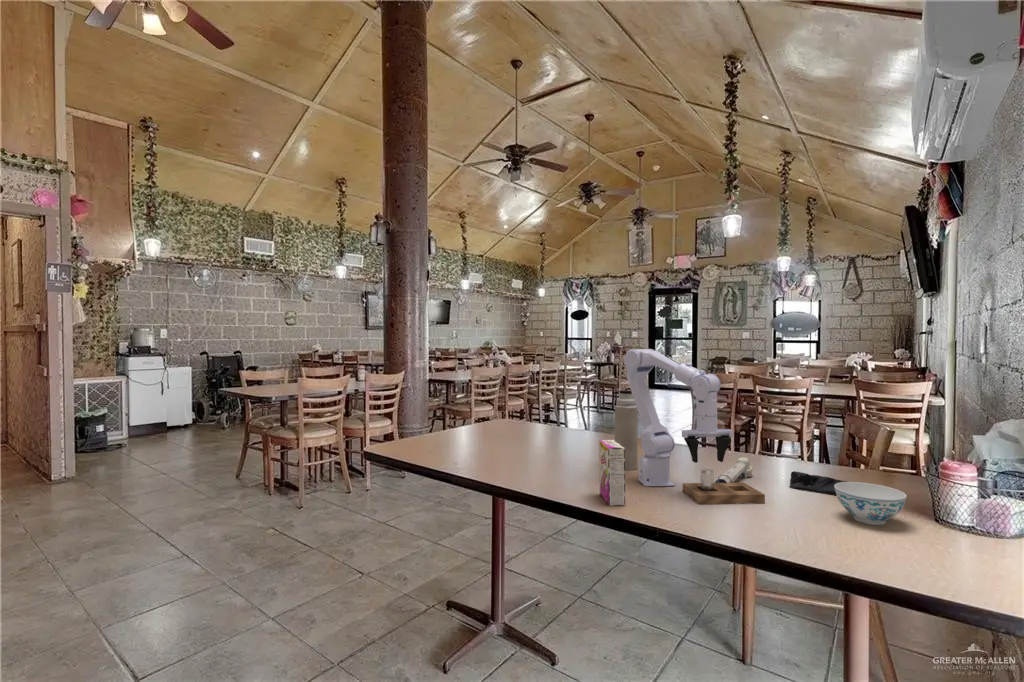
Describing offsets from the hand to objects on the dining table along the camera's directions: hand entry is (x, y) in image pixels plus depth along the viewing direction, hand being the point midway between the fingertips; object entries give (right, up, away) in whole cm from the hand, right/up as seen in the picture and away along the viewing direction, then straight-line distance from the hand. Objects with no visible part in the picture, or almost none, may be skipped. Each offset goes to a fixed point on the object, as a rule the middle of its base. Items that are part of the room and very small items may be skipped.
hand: (707, 461), depth 146 cm
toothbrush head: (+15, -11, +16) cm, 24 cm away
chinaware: (+34, -11, -19) cm, 40 cm away
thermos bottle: (-16, -11, +34) cm, 39 cm away
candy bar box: (-29, -11, -2) cm, 31 cm away
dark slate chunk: (+41, -11, +8) cm, 44 cm away
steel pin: (0, -11, 0) cm, 11 cm away
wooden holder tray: (+4, -11, 0) cm, 11 cm away
